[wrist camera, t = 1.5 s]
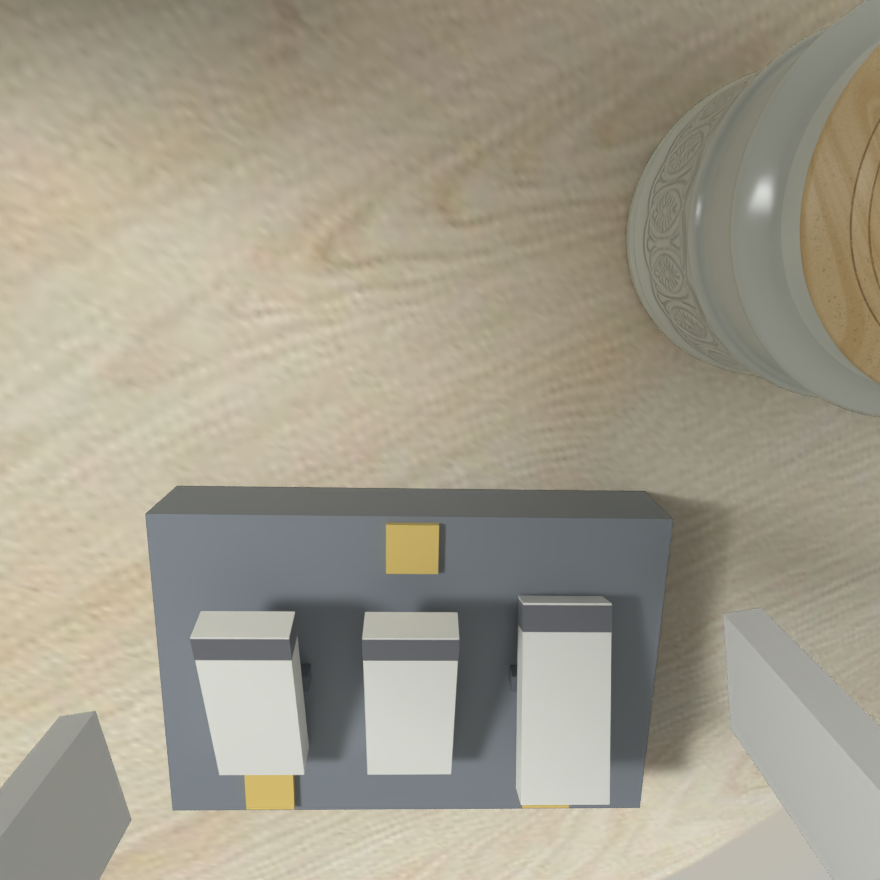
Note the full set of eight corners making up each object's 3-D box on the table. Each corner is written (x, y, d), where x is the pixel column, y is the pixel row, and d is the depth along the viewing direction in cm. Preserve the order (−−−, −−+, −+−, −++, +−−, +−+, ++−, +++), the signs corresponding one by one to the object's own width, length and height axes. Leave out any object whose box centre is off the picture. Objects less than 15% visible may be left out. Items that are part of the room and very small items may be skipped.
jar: (744, 16, 29) (1199, -339, 12) (947, 197, 31) (1576, 111, 14) (563, 265, 32) (731, 260, 15) (763, 417, 34) (1114, 569, 17)
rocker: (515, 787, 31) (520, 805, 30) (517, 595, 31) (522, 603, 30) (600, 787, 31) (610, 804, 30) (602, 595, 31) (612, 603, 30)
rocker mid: (369, 746, 33) (366, 775, 32) (364, 611, 29) (361, 638, 27) (450, 745, 33) (451, 774, 32) (457, 611, 29) (459, 638, 28)
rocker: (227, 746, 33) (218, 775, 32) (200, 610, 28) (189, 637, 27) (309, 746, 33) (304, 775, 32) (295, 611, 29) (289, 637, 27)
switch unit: (198, 754, 38) (165, 826, 33) (176, 485, 34) (136, 521, 29) (617, 753, 39) (646, 823, 34) (644, 491, 35) (681, 527, 30)
